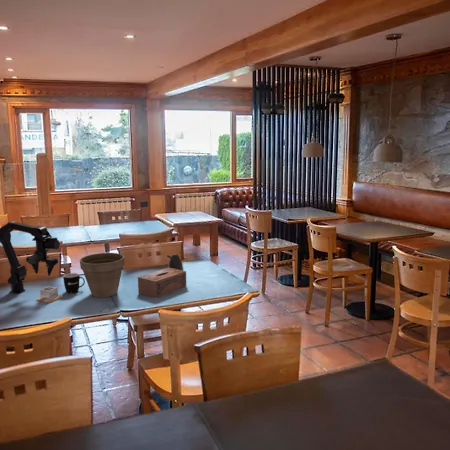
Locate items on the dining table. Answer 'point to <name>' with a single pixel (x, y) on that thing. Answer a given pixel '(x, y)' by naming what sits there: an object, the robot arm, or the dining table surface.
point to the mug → (72, 282)
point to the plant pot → (103, 273)
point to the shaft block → (48, 299)
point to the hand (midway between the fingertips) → (42, 274)
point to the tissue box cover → (161, 282)
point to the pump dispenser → (175, 262)
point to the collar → (49, 293)
